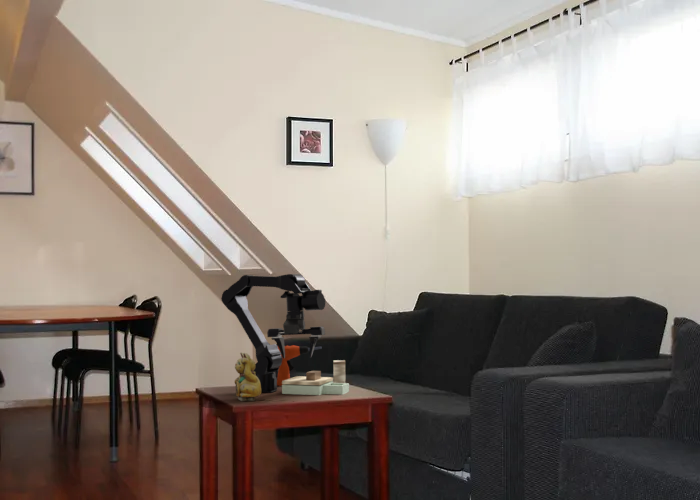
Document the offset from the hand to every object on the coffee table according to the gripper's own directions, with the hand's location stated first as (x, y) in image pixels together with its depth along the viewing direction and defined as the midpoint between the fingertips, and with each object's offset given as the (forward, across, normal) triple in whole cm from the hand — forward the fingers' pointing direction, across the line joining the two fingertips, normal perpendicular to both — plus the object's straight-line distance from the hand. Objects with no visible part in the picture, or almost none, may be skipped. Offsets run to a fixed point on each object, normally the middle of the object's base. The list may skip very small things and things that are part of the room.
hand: (297, 357), depth 286 cm
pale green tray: (+12, +7, -1) cm, 14 cm away
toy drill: (+11, -6, +24) cm, 27 cm away
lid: (+8, +3, -1) cm, 9 cm away
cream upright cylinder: (+12, +11, +12) cm, 21 cm away
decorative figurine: (+12, -13, -15) cm, 23 cm away
